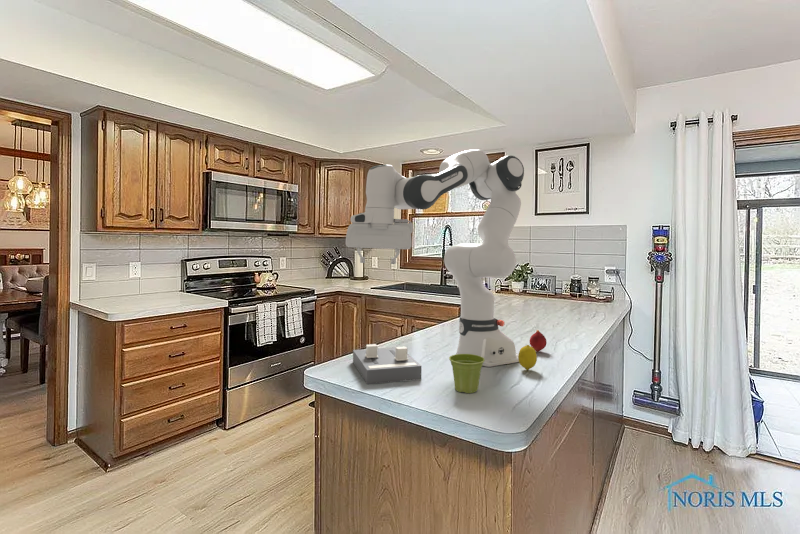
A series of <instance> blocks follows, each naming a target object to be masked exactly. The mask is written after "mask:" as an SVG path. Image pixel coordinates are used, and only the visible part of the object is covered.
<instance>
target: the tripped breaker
mask: <svg viewBox="0 0 800 534" xmlns="http://www.w3.org/2000/svg"><path fill="white" fill-rule="evenodd" d="M377 348H378V345H377V343H371V344H366V345H365V349H366V355H365V356H366V358H378V357H379V356H378V355H377Z"/></svg>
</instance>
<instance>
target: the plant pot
mask: <svg viewBox="0 0 800 534" xmlns="http://www.w3.org/2000/svg"><path fill="white" fill-rule="evenodd" d="M448 359H449V361H450V364H451V367H452V374H453V375H452V376H453V382H454V389H455V391H457V392H458V393H465V394H472V393H473V394H474V393H476V392H477V391H478V390H479V385H480V378H481V372H482V371H481V370H482V367H483V366H482V365H483V362H484V361H485V359H484V358H483V357H481V356H478V355H473V354H452V355H450V356H449V357H448Z"/></svg>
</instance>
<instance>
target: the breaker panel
mask: <svg viewBox="0 0 800 534" xmlns="http://www.w3.org/2000/svg"><path fill="white" fill-rule="evenodd" d="M396 347H397V346H393V347H377V355H378V356H379V357H378V358H366V356H365V355H366V348H364V349H353V350H352V363H353V365H354V366H355V367H356V369H357V371H358V372H359V374H360V375H361V377H362V379H363V380H364V382H365V384H366V385H374V384H385V383H397V382H408V381H418V380H422V365H421V364H420V363H419V362H418V361H417V360H415V358H413V357H412V356H411V355H410V354H408V353H407V358H408V359H409V360H403V361H396V360H395V359H394V357H395V351H396Z"/></svg>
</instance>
